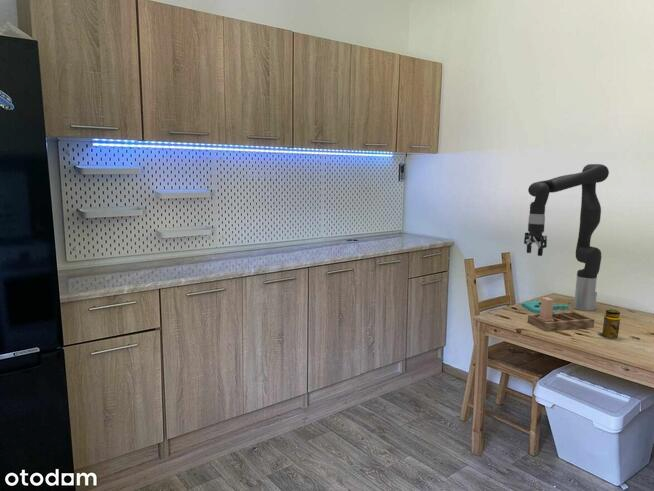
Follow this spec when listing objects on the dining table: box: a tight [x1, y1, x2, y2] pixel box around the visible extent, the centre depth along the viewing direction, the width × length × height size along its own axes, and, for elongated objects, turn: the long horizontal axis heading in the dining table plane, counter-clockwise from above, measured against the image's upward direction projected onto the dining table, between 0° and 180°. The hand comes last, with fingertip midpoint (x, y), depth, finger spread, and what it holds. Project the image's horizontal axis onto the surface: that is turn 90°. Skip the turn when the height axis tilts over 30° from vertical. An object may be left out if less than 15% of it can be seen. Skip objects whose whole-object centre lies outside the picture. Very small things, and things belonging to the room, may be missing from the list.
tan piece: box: [537, 296, 555, 322], centre depth 223 cm, size 6×4×12 cm
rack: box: [527, 311, 595, 332], centre depth 226 cm, size 26×13×4 cm, turn 105°
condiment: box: [596, 308, 621, 341], centre depth 210 cm, size 7×8×12 cm
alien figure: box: [521, 300, 570, 314], centre depth 251 cm, size 20×2×20 cm
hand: (534, 254), depth 244 cm, fingers open, 8 cm apart
